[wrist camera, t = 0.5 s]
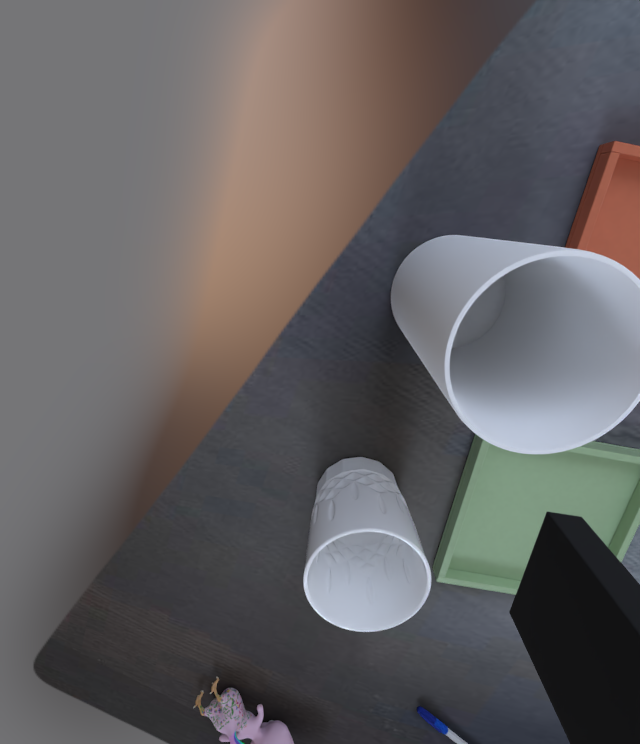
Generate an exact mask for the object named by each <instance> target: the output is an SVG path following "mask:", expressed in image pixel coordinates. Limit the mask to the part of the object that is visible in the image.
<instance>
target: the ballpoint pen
mask: <svg viewBox="0 0 640 744" xmlns="http://www.w3.org/2000/svg"><path fill="white" fill-rule="evenodd" d="M417 712H418V713H419V714H420V716H421V717H422V718H423V719H424V720H425V721H427V722H428V723H429V724H430V725H431V726H433V727H434V728H435V729H436V730H437V731H439V732H440V733H441V732H442V733H443V734H445V735H447V736H448V737H449V738H450V739H452V740H453V741H454V742H456V743H457V744H468V743H466V742H465V741H464V740H463V739H461V738H460V737H459V736H458V735H456V734H455V733H454V732H452V731H451V730H450V729H449V728H448V727H447V726H446V725H445V724H444V723H442V722H441V721H440V720H438V719H437V718H436V717H435V716H433V715H432V714H431V713H430V712H428V711H427V710H426V709H424V708H422V707H420V706H419V707H417Z"/></svg>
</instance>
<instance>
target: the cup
mask: <svg viewBox="0 0 640 744" xmlns="http://www.w3.org/2000/svg"><path fill="white" fill-rule="evenodd" d="M391 307H392V312H393V316H394V318H395V321H396V323H397V324H398V326H399V328H400V329H401V331H402V332H403V334H404V335H405V337H406V338H407V340H408V341H409V343H410V344H411V346H412V347H413V349H414V350H415V352H416V354H417V355H418V357H419V358H420V360H421V361H422V363H423V364H424V366H425V367H426V369H427V370H428V372H429V373H430V375H431V376H432V378H433V379H434V381H435V382H436V384H437V385H438V387H439V388H440V390H441V391H442V393H443V394H444V396H445V397H446V399H447V400H448V402H449V403H450V405H451V406H452V408H453V409H454V411H455V412H456V414H457V415H458V417H459V418H460V419H461V420H462V421H463V423H464V424H465V425H466V426H468V427H469V428H470V429H471V430H472V431H473V432H474V433H475V434H476V435H478V436H479V437H480V438H482V439H484V440H485V441H487V442H488V443H490V444H492V445H494V446H497V447H499V448H502V449H505V450H508V451H512V452H517V453H522V454H552V453H558V452H563V451H567V450H571V449H574V448H577V447H580V446H582V445H585V444H587V443H589V442H591V441H593V440H595V439H597V438H599V437H600V436H602V435H604V434H605V433H607V432H608V431H610V430H611V429H612V428H614V427H615V426H616V425H617V424H619V423H620V422H621V421H622V420H623V419H624V418H625V417H626V416H627V415H628V414H629V413H630V412H631V411H632V410H633V409H634V407H635V406H636V405H637V404H638V402H639V401H640V280H639V278H637V277H636V276H635V275H634V274H633V273H632V272H631V271H630V270H628V269H627V268H626V267H624V266H623V265H621V264H619V263H618V262H616V261H614V260H612V259H610V258H607V257H605V256H602V255H599V254H596V253H593V252H590V251H585V250H580V249H572V248H564V247H556V246H548V245H539V244H531V243H522V242H514V241H505V240H497V239H488V238H480V237H471V236H463V235H446V236H441V237H437V238H434V239H431V240H429V241H427V242H425V243H423V244H421V245H420V246H418V247H417V248H416V249H414V250H413V251H412V252H411V253H410V254H409V255H408V256H407V257H406V258H405V259H404V261H403V262H402V264H401V265H400V267H399V268H398V270H397V272H396V275H395V277H394V280H393V284H392V288H391Z"/></svg>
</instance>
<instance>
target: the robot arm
mask: <svg viewBox="0 0 640 744" xmlns="http://www.w3.org/2000/svg"><path fill="white" fill-rule="evenodd" d="M510 614H511V617H512V619H513V621H514V623H515V625H516V627H517V630H518V632H519V634H520V636H521V638H522V640H523V642H524V645H525V647H526V649H527V651H528V653H529V655H530V658H531V660H532V662H533V664H534V666H535V668H536V671H537V673H538V675H539V677H540V679H541V681H542V684H543V686H544V688H545V690H546V692H547V694H548V697H549V699H550V701H551V703H552V705H553V707H554V710H555V712H556V714H557V716H558V718H559V720H560V722H561V725H562V727H563V729H564V731H565V733H566V735H567V738H568V740H569V742H570V744H640V584H639V583H638V582H637V581H636V580H635V579H634V577H633V576H632V575H631V574H630V573H629V572H628V570H627V569H626V568H625V567H624V566H623V564H622V563H621V562H620V561H619V560H618V559H617V557H616V556H615V555H614V554H613V553H612V552H611V550H610V549H609V548H608V547H607V546H606V545H605V543H604V542H603V541H602V540H601V539H600V538H599V536H598V535H597V534H596V533H595V532H594V531H593V529H592V528H591V527H590V526H589V525H588V524H587V522H586V521H585V520H584V519H583V518H582V517H580V516H573V515H567V514H560V513H554V512H547V513H546V515H545V518H544V521H543V523H542V526H541V529H540V531H539V534H538V537H537V539H536V542H535V545H534V548H533V550H532V553H531V556H530V558H529V561H528V564H527V566H526V569H525V572H524V574H523V577H522V580H521V583H520V585H519V588H518V591H517V593H516V596H515V599H514V601H513V604H512V607H511V609H510Z"/></svg>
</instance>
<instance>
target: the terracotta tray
mask: <svg viewBox="0 0 640 744" xmlns="http://www.w3.org/2000/svg"><path fill="white" fill-rule="evenodd" d="M565 248H572V249H580V250H585V251H590V252H593V253H596V254H599V255H602V256H605V257H607V258H610V259H612V260H614V261H616V262H618V263H619V264H621V265H623V266H624V267H626V268H627V269H628V270H630V271H631V272H632V273H633V274H634V275H635V276H636V277H637V278H639V280H640V146H637V145H632V144H627V143H622V142H618V141H613V142H610V143H606V144H603V145H600V146H599V149H598V152H597V155H596V158H595V161H594V163H593V166H592V169H591V172H590V175H589V178H588V181H587V184H586V187H585V190H584V193H583V196H582V199H581V202H580V205H579V208H578V210H577V213H576V216H575V219H574V222H573V225H572V228H571V231H570V234H569V237H568V240H567V243H566V246H565Z"/></svg>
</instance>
